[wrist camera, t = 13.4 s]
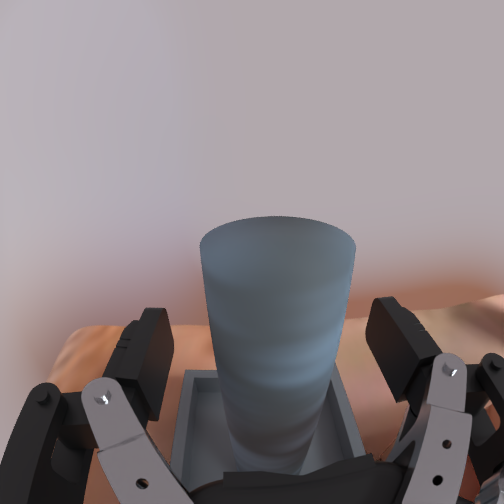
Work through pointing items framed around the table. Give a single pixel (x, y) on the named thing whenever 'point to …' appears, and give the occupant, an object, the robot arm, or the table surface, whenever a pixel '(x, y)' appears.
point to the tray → (218, 439)
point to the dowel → (275, 330)
